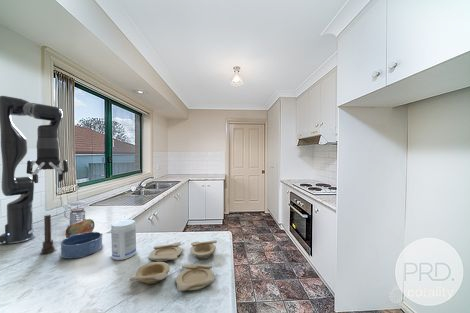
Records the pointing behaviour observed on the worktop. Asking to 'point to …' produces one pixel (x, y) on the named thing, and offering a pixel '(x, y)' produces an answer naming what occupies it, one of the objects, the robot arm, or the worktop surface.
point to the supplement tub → (123, 239)
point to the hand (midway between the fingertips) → (48, 182)
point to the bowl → (81, 244)
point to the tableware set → (187, 278)
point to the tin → (80, 227)
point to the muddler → (47, 236)
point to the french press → (76, 211)
